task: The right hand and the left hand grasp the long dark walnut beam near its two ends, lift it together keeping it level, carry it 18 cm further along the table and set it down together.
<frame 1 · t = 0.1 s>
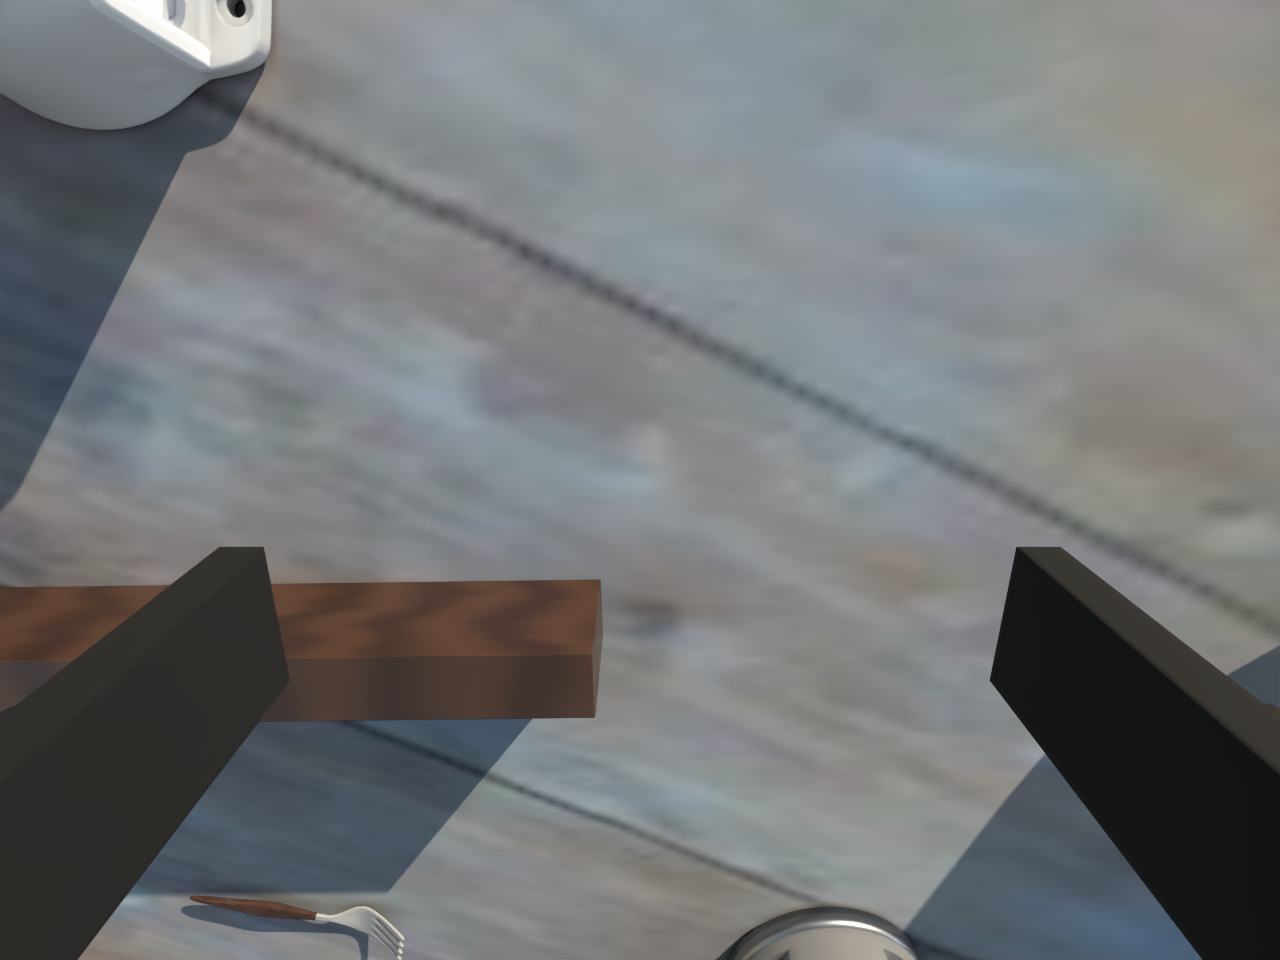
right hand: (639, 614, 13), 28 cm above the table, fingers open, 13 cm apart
fork: (304, 905, 53), on the table
walnut beam: (234, 612, 44), on the table
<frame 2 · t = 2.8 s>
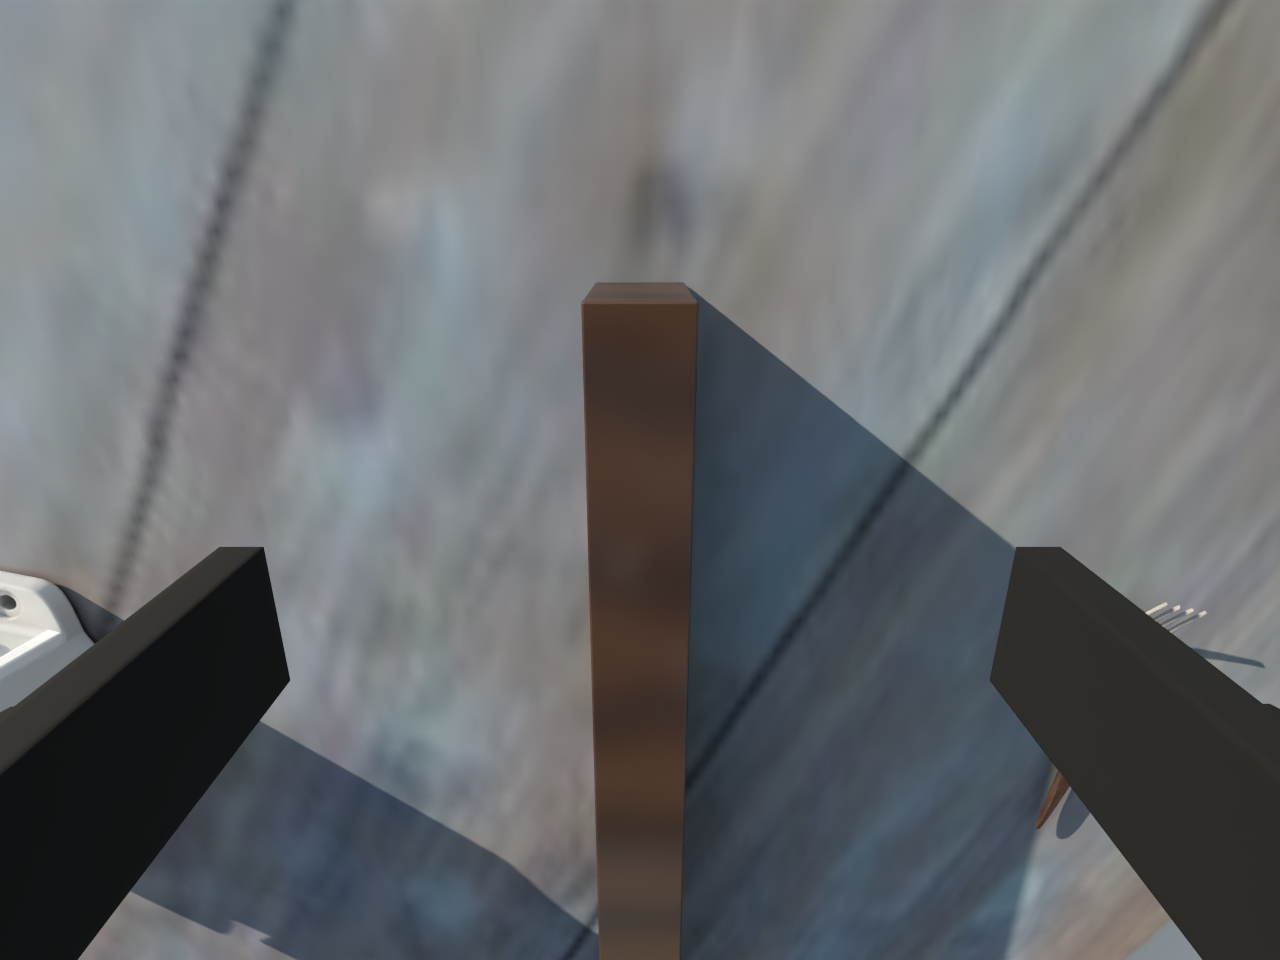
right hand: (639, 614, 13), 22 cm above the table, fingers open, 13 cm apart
fork: (1089, 710, 40), on the table
walnut beam: (640, 710, 40), on the table
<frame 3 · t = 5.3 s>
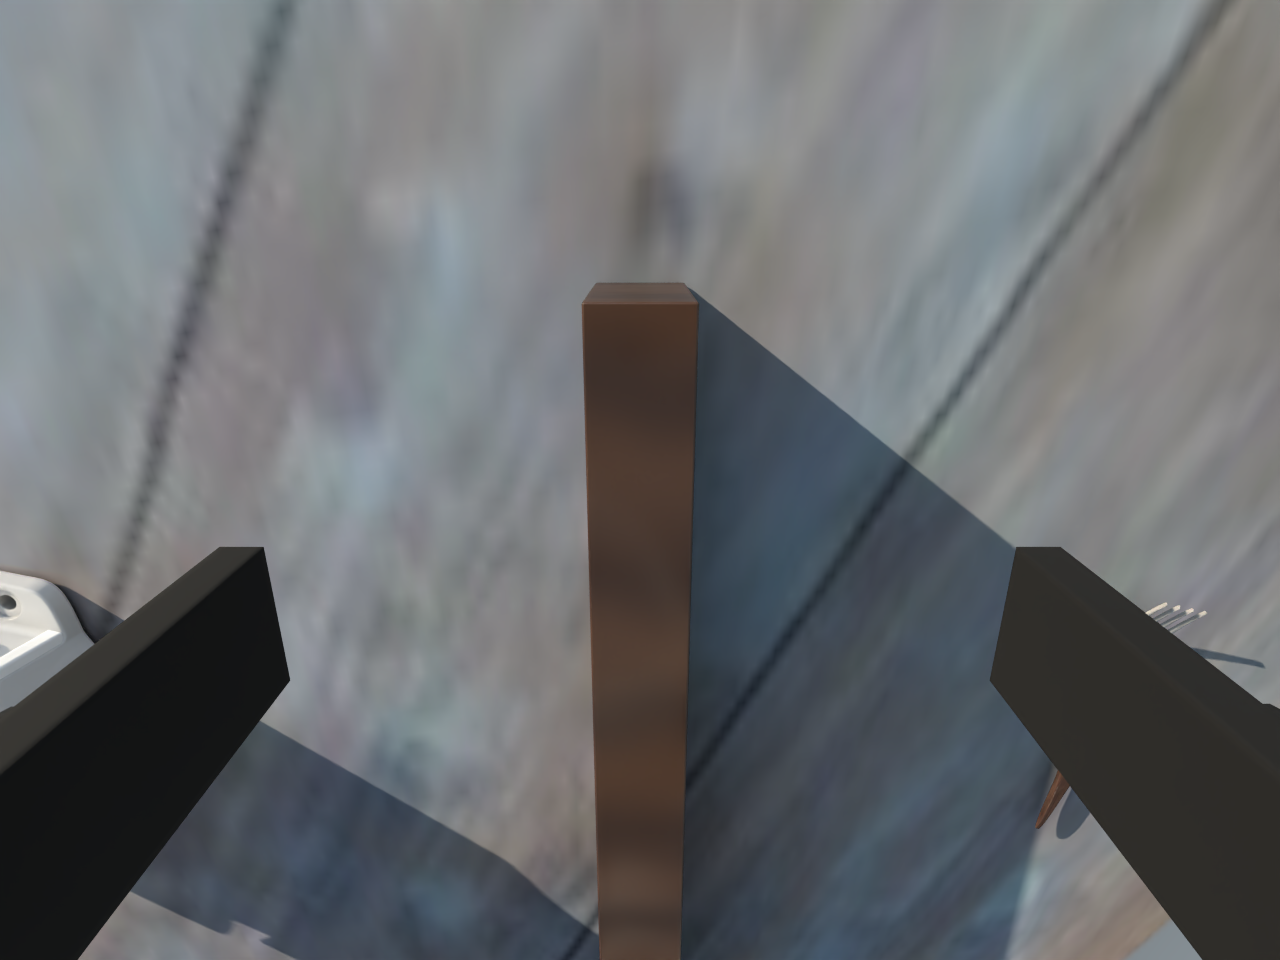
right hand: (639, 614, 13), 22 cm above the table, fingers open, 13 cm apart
fork: (1089, 710, 40), on the table
walnut beam: (640, 710, 40), on the table, touching left hand
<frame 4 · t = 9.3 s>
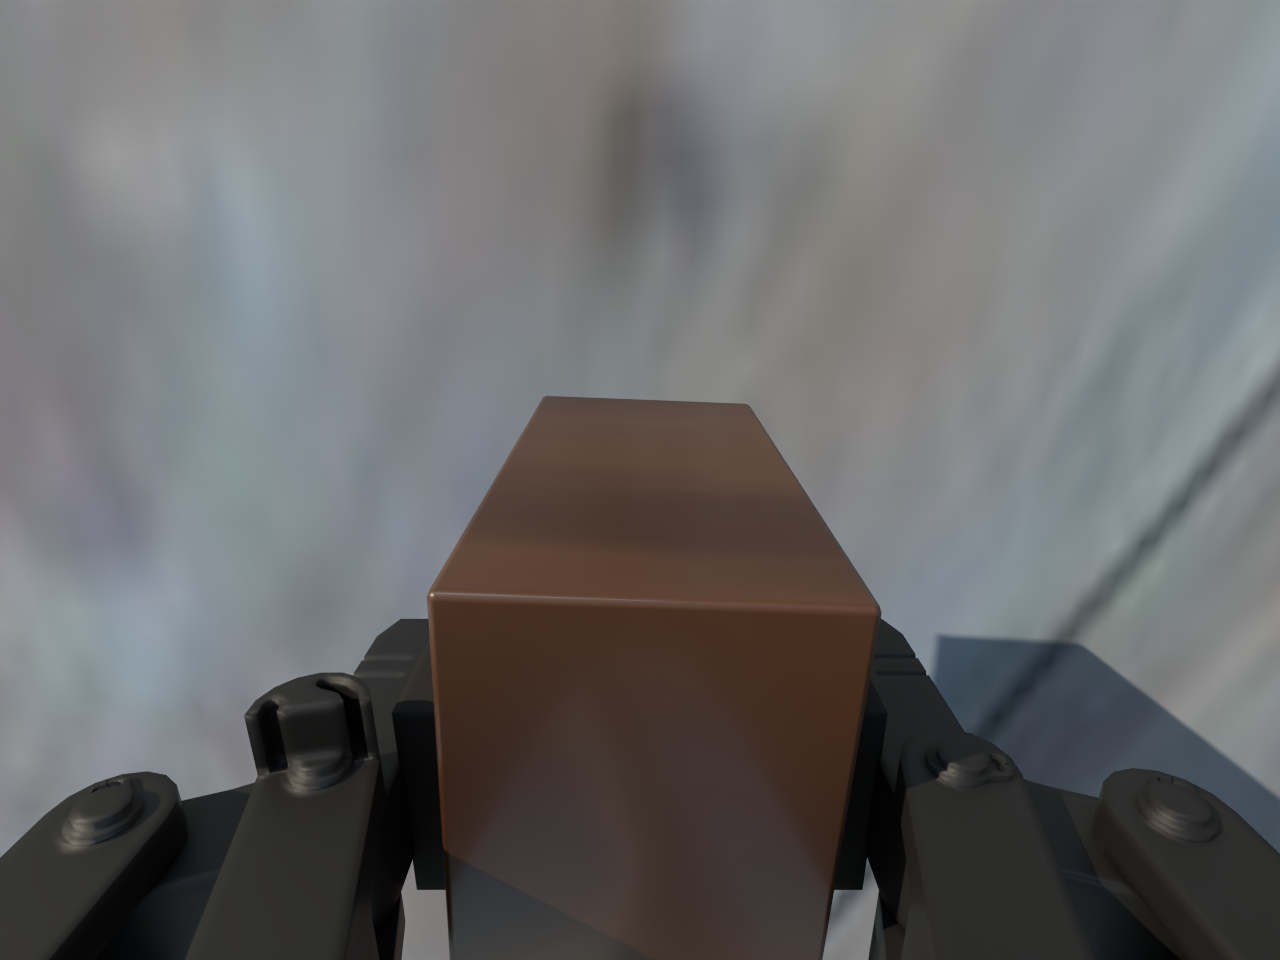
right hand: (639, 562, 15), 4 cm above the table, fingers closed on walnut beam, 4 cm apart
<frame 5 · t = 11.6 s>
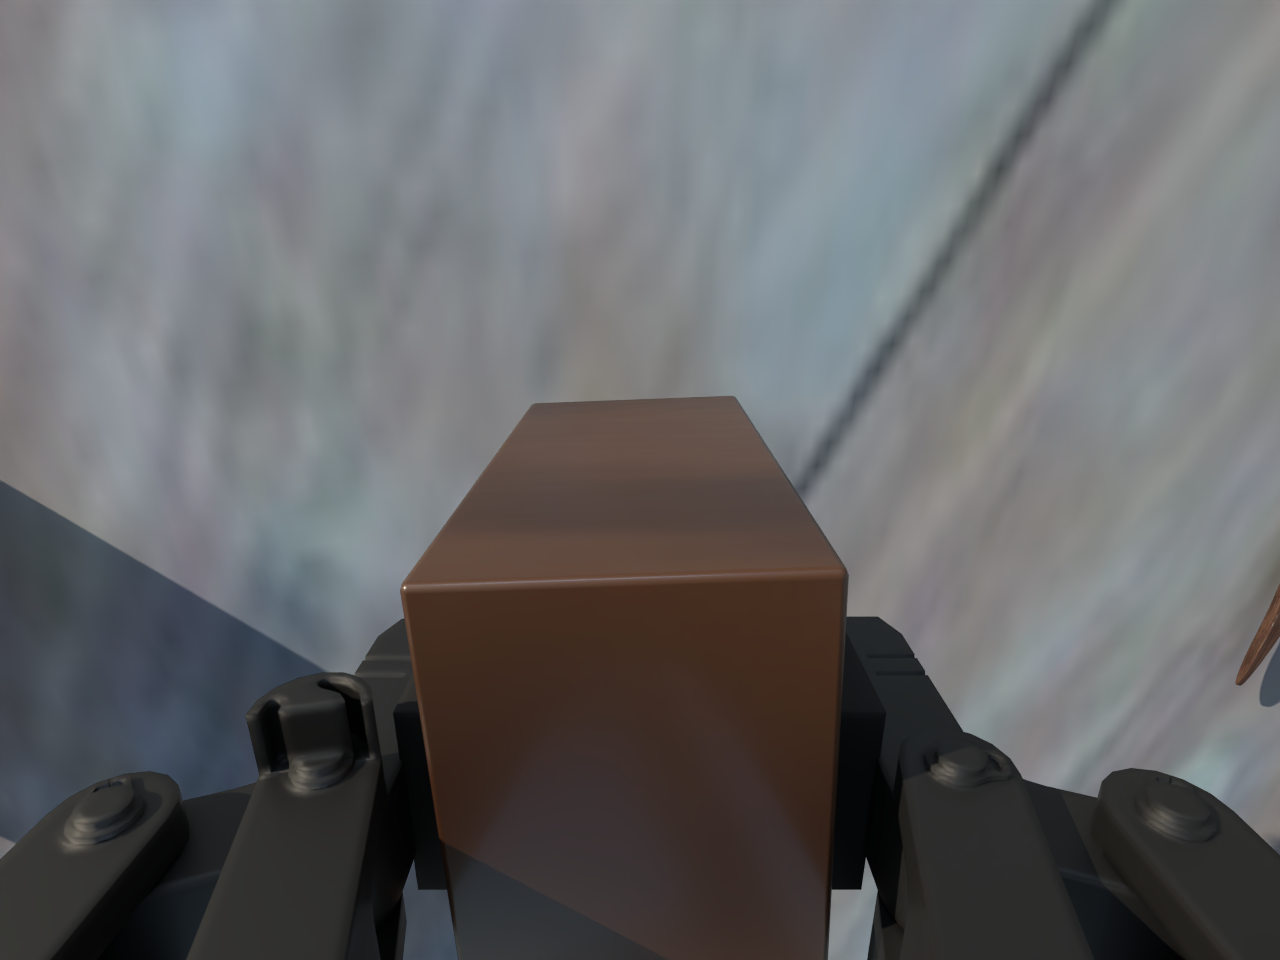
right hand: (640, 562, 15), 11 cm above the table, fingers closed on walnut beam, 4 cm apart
when the right hand's fingers open (0 cm above the table, at t = 14.3 s): walnut beam stays where it is, on the table.
when the left hand's fingers open (4 cm above the table, at t = 14.4 s): walnut beam stays where it is, on the table.
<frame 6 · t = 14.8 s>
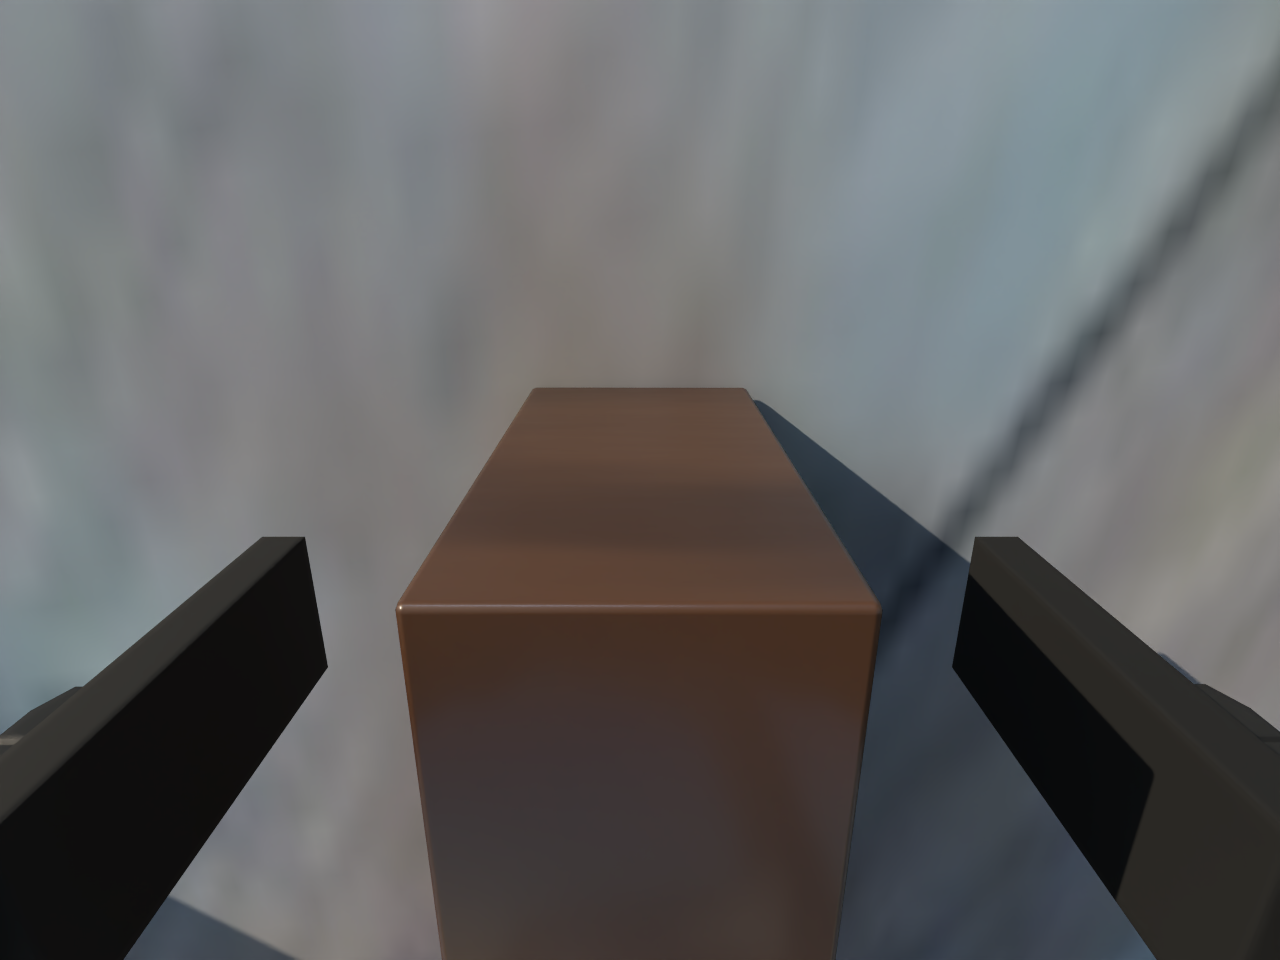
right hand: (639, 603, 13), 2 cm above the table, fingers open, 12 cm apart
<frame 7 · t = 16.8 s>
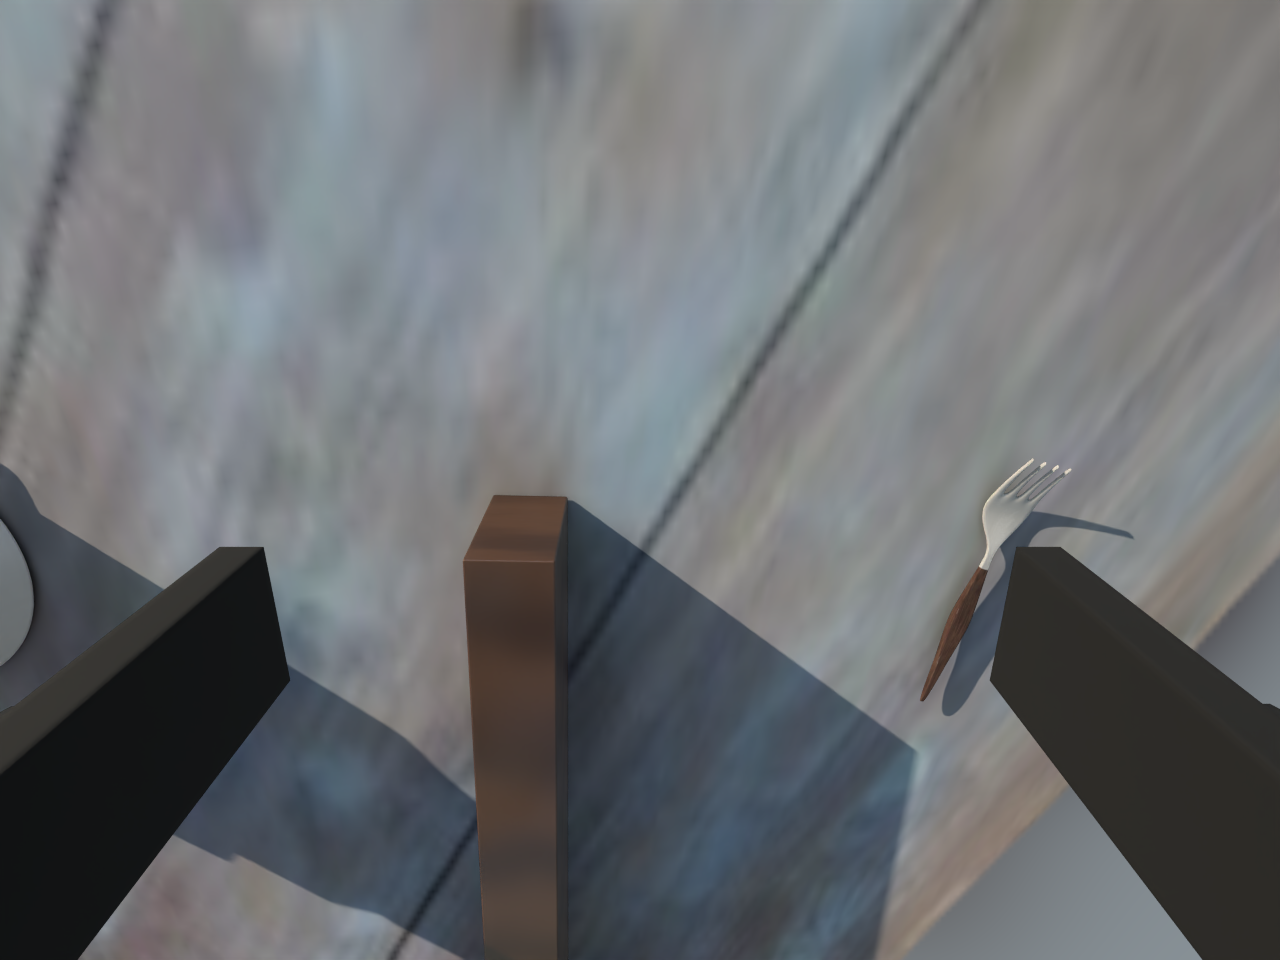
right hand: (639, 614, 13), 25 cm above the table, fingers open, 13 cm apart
fork: (969, 580, 41), on the table
walnut beam: (537, 828, 46), on the table
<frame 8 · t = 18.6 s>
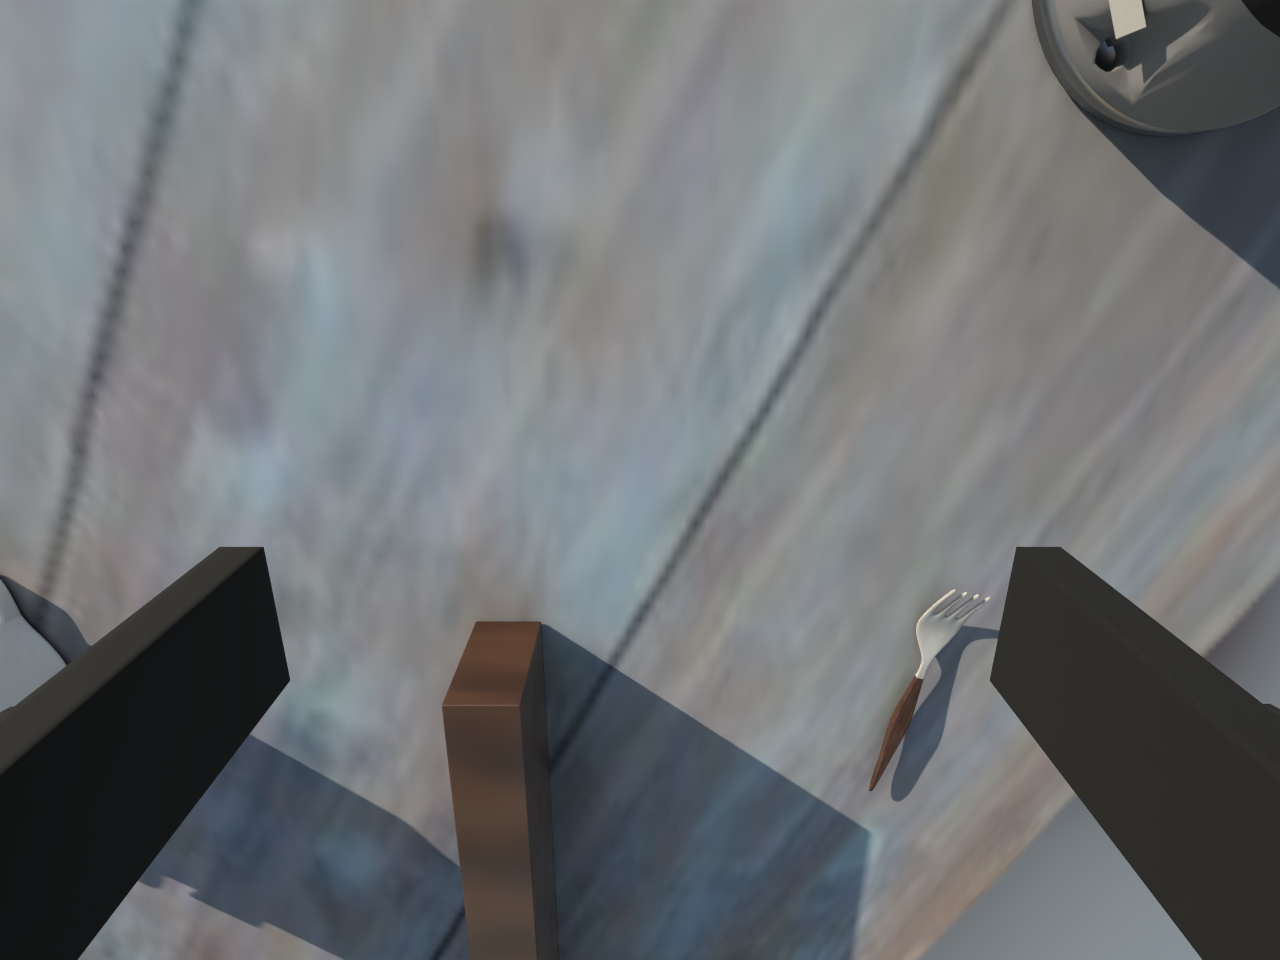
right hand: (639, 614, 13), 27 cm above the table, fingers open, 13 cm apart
fork: (908, 685, 45), on the table
walnut beam: (528, 899, 51), on the table
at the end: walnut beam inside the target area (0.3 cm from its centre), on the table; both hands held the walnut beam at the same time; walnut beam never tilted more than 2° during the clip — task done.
